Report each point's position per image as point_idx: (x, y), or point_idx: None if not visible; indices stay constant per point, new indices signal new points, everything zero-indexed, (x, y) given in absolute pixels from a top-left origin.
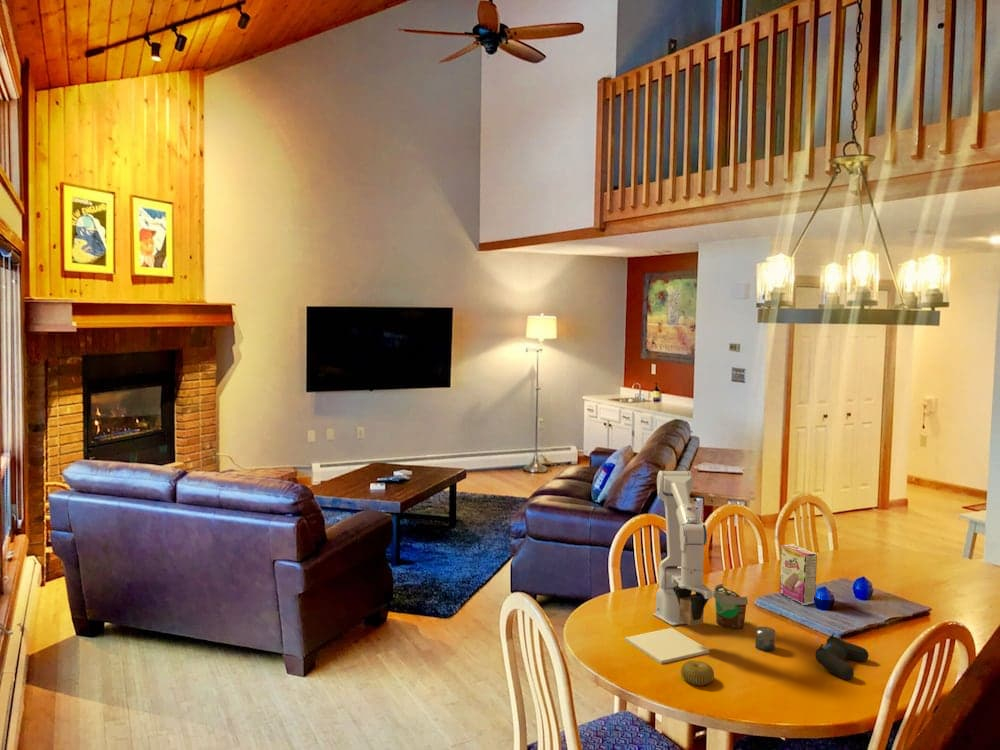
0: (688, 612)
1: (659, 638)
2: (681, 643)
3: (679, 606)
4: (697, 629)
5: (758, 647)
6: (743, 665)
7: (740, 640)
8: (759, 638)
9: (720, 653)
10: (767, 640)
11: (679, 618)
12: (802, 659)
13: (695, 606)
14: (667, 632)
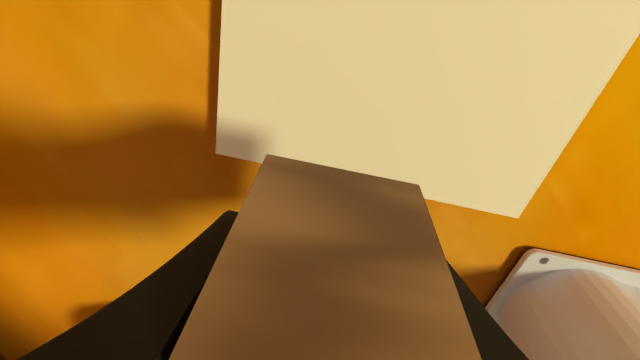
0: (275, 237)
1: (509, 45)
2: (359, 100)
3: (474, 296)
4: None
5: None
6: (49, 159)
7: None
8: None
9: (191, 180)
10: None
11: (419, 191)
12: (46, 327)
13: (59, 337)
14: (508, 157)
